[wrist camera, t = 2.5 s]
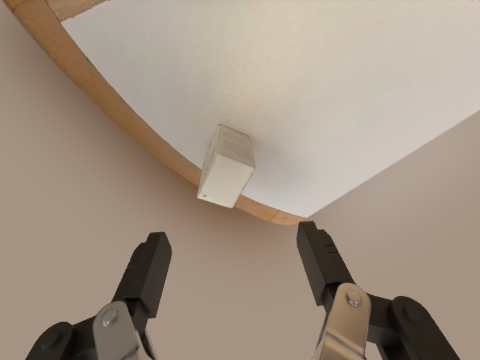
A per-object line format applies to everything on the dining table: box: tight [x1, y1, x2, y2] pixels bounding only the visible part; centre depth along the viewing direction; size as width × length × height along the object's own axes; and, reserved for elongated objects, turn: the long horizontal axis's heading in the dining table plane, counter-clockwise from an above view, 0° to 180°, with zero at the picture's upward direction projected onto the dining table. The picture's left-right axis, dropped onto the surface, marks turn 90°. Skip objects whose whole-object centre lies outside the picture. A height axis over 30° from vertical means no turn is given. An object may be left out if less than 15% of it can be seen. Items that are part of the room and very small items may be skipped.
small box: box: [197, 125, 256, 208], centre depth 31 cm, size 8×6×10 cm
